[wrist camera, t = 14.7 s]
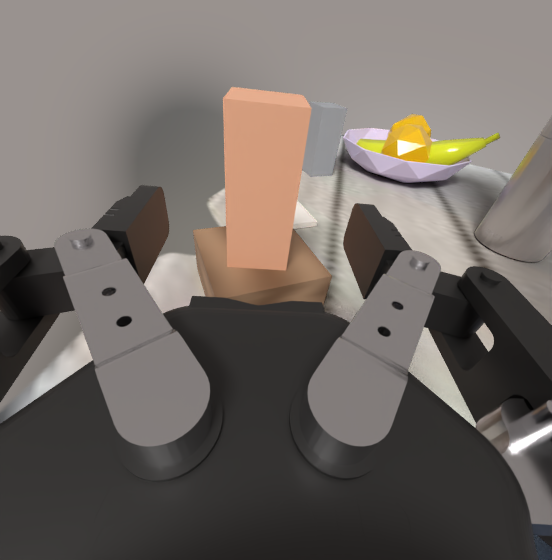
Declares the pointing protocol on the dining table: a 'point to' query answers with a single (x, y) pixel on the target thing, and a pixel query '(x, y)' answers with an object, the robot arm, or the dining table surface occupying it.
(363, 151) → the fruit bowl
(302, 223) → the card
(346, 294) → the dining table surface
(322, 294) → the walnut plinth
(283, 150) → the terracotta block
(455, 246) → the dining table surface
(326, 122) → the grey block
